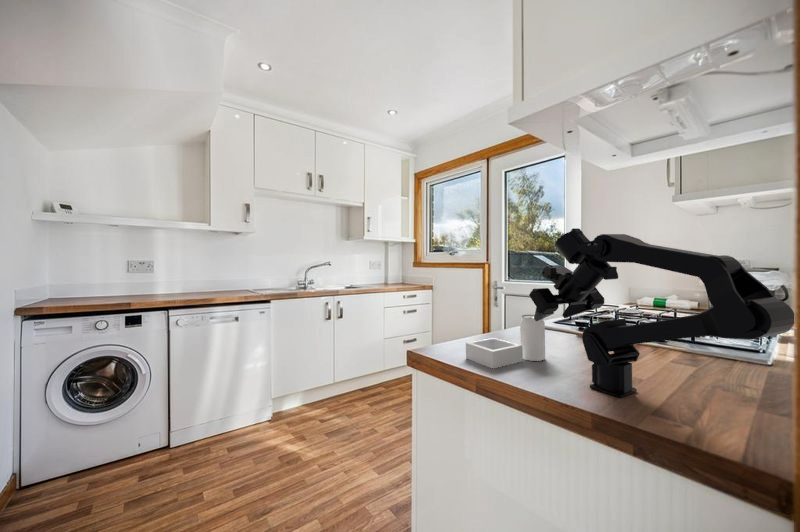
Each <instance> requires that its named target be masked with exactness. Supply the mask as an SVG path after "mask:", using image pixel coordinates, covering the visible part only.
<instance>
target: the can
mask: <svg viewBox="0 0 800 532" xmlns="http://www.w3.org/2000/svg"><path fill="white" fill-rule="evenodd" d="M534 316H535V314H522V315H521V319H520V321H519V332H520V336H519V338H520V341H519V345H523V360H524V359H525V361H527V360H529V361H528V362H533V361H539V362H543V361H545V359H546V325H545V323H546V322H545V320H544V319H541V320H539V321H535V319H534ZM542 360H543V361H542Z"/></svg>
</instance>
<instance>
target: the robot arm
mask: <svg viewBox="0 0 800 532" xmlns="http://www.w3.org/2000/svg"><path fill="white" fill-rule="evenodd" d="M554 244H555V245H554V246H555V248H556V249H557V250H558V251H559V253H560V254H561V255H562V257H563V258H564V259H565V260H566V261H567V263H569V264H570V265H574V264H576V268H574V270H573V271H572V270H571V269H569V268H568V267H565V266H564V265H561V264H555V265H550V264H548V265H546V266H545V267H544V268H543V269H542V271H541V276H542V277H543V278H544V279H546V280H548V281H550V282H552V283H553V284H554V285H553V288H554V289H555V290H556V291H557V293H558V294H553V293H552V291H551V290H550V288H549V287H539V288H538V287H537V288H536V287H535V288H533V289H531V291H530V292H529V297H530V299H531V301H532V303H534V305H535V312H534V315H535V316H534V319H535V321H539V320H541V319H543V320H544V319H545V318H547V317H549V316H552V315H554V314H555V312H557V310H559V308H560V307H559V305H568V306H567V307H566V308H565V310H564V311H563V313H562V317H563V318H564V319H567V318H570V317H573V316H577V315H580V314H583V313H587V312H589V311H594V310H595V309H601V308H602V306H604V305H605V298H604V296H603V294H602V293H600V291H599V290H598V288H597V286H598V285H599V284H600V283H601V282H602V281H603V280H604V281H605V280H606V281H607V280H618V279H619V274H618V271H617V270H618V268H617V266H611V264H610V263H629V264H631V263H632V264H634V263H635V264H638V265H643V266H647V267H652V268H656V269H660V270H664V271H665V270H666V271H669V272H674V273H679V274H681V275H682V274H683V275H688V276H691V277H697V278H699V279H700V280H701V282H702V283H703V285H704V288H705V292H706V294H707V298H708V301H709V303H710V304H711V306H712V307H710V308H708V309H706V310H704V311H701V312H699V313H696V314H691V315H685V316H679V317H673V318H668V319H667V318H666V319H662V320H657V321H650V322H644V323H639V324H638V323H637V324H633V325H632V324H631V325H630V324H627V321H626V318H619V319H618V318H617V319H612V320H611V319H610V320H603V321H600V322H593V323H588V326H589V327H585V328H584V329H583V332H582V335H581V336H582V337H581V338H582V339H581V341H582V344H583V347H584V351H585V354H586V357H587V360H588V361H589V362H592V363H593V364H592V365H591V382H592V384H589V388H590V389H593V390H596V391H599V392H602V393H604V394H607V395H610V396H611V395H612V396H614V397H617V398H623V397H625V396H629V395H631V394H633V393H635V392H638V391H637V388H635V387H633V362H638V359H639V357H640V351H639V350H638V349H637V348H636V347H635V345H638V344H643V343H645V344H647V343H655V342H663V341H665V342H666V341H671V340H684V339H689V338H698V337H710V338H711V337H712V338H719V339H731V340H733V339H734V340H735V339H736V340H755V339H761V338H765V337H771V336H777V335H782V334H785V333H787V332H789V331H790V330H791V329H792V328H793V326H794V325H795V322H794V315H795V313H794V310H793V309H792V307H791V306H790V305H789V304H787V303H786V302H785V301H783V300H781V299H778V298H777V297H776V296H775V295H774V294H773V292H772V291H771V290H770V289H769V288H768V287H767V286H766V285H765V284H764V283H763V282H761V281H760V280H759V279H757V278H756V277H755V276H753V275H752V274H751V273H749V272H748V271H747V270H746V269H745V267H744V266H743V265H742V264H741V262H739V260H738V259H736V258H735V257H733V256H730V255H717V254H711V253H705V252H699V251H692V250H687V249H679V248H676V247H674V248H673V247H667V246H663V245H661V246H660V245H656V244H651V243H647V242H645V241H643V240H642V239H640V238H638V237H634V236H631V235H628V234H625V233H607V234H606V233H602V234H601V233H600V234H598V235H597V236H596V237H594V239H593V240H590V239H588V237H587V236H586V235H585V234H584V232H583V231H582V230H581V228H571V230H570V231H569V232H566V233H564V234H563V235H561V236H560V237H558V238H557V239H556V241H555V243H554ZM611 352H613V353H611Z"/></svg>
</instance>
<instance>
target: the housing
mask: <svg viewBox="0 0 800 532" xmlns="http://www.w3.org/2000/svg"><path fill="white" fill-rule="evenodd" d="M465 359H466V360H469V361H472V362H474V363H477V364H479V365H481V366H484V367H488V368H490V369H492V368H493V369H492V370H495V369H499V368H502V366H503V367H507V366H511V365H514V363H515V364H518V363H517V362H519V363H522V362H521V361H523V362H524V359H523V345H520V343H515V342H512V341H508V340H504V339H500V338H497V337H489V338H485V339H480V340H479V339H478V340H474V341H468V342H465ZM510 364H511V365H510ZM506 365H507V366H506ZM498 367H499V368H498ZM494 368H495V369H494Z"/></svg>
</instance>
